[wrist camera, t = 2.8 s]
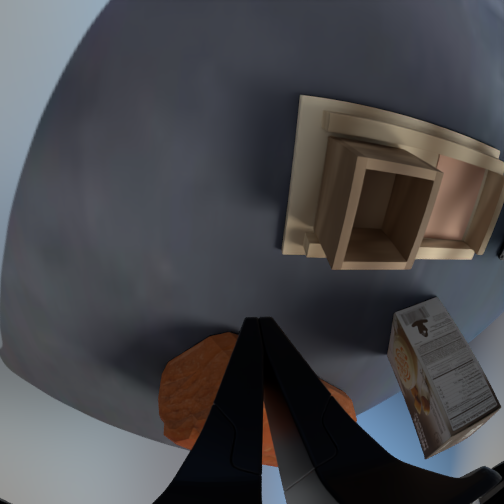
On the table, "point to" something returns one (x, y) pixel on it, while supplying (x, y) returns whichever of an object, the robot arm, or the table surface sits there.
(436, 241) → the beige cubby shelf
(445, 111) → the table surface
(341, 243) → the crate
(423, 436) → the coffee box
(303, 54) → the table surface
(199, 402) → the bread
